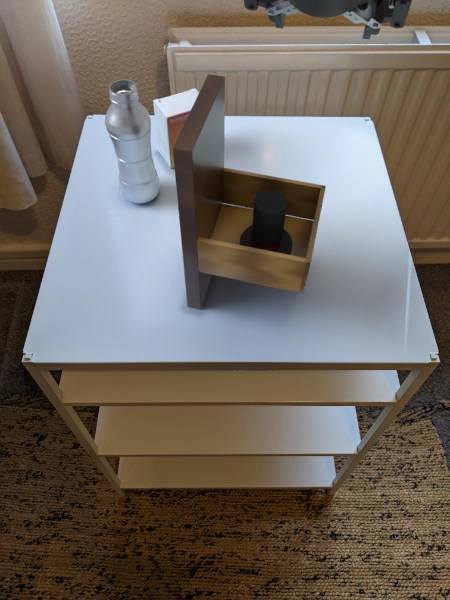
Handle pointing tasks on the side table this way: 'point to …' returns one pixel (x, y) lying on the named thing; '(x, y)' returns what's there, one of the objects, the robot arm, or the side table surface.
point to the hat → (268, 224)
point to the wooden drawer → (233, 208)
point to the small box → (172, 120)
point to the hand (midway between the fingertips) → (324, 23)
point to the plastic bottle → (132, 142)
